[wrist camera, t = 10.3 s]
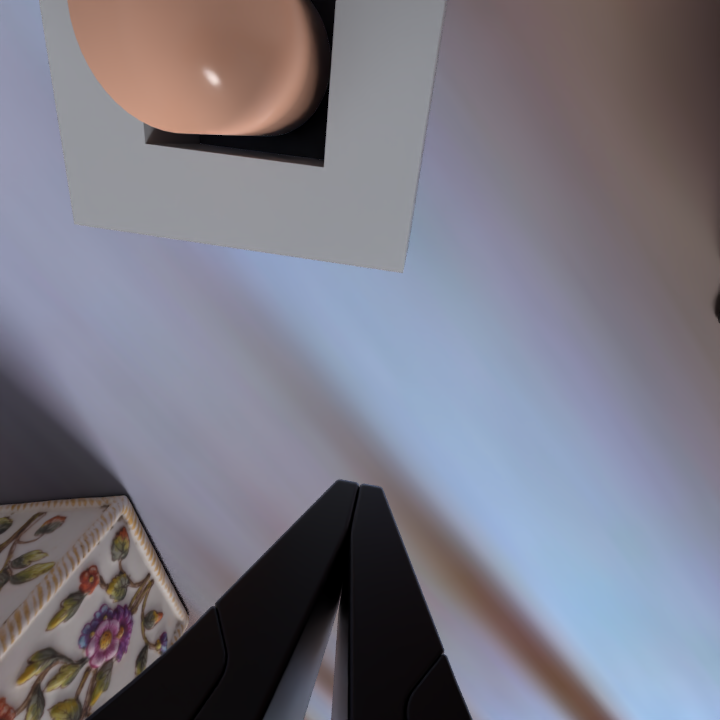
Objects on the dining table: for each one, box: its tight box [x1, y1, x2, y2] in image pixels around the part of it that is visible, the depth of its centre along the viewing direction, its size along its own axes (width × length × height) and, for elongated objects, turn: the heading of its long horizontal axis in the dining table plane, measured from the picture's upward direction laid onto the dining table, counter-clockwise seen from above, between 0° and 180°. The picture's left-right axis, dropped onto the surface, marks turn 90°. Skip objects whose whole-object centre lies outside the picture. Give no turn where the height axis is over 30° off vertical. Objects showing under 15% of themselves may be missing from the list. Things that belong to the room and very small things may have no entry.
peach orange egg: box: [67, 0, 331, 136], centre depth 13 cm, size 5×5×6 cm
